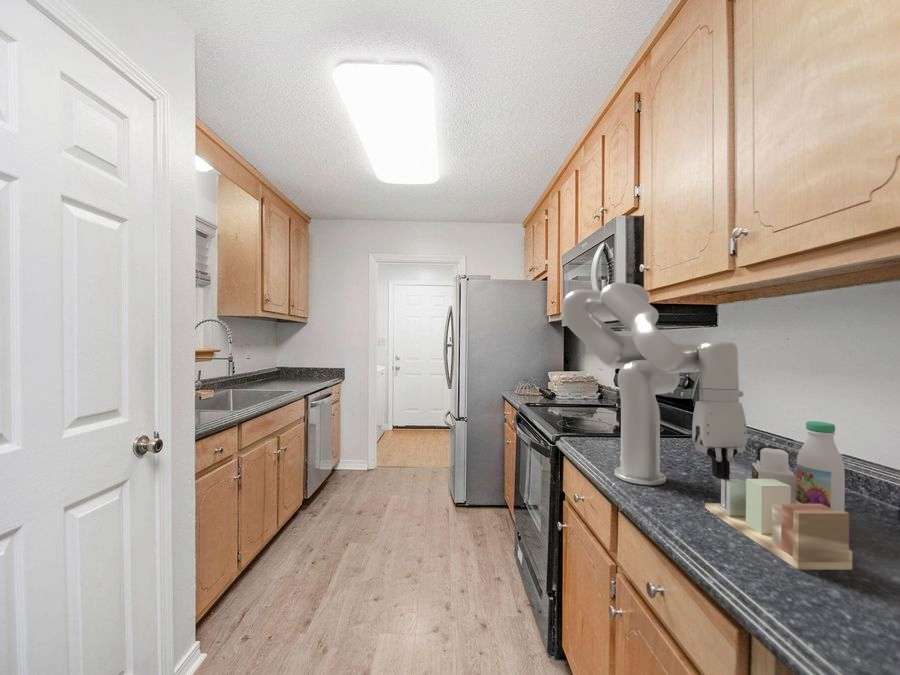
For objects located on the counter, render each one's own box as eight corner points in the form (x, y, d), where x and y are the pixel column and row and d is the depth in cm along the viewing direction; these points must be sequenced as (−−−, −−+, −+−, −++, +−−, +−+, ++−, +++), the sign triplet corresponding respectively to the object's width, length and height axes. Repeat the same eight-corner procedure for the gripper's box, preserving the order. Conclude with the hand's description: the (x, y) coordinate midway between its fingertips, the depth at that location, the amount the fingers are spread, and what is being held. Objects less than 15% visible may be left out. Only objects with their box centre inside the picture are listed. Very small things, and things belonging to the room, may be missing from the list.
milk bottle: (820, 509, 92) (821, 419, 92) (855, 525, 84) (856, 426, 84) (786, 509, 92) (787, 419, 92) (818, 525, 84) (819, 426, 84)
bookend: (713, 506, 90) (713, 474, 90) (746, 506, 90) (746, 474, 90) (729, 516, 85) (730, 482, 85) (764, 516, 85) (764, 482, 85)
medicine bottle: (751, 490, 103) (751, 442, 103) (787, 496, 99) (788, 446, 99) (756, 500, 96) (757, 449, 96) (795, 506, 93) (796, 453, 93)
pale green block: (745, 524, 81) (746, 478, 81) (773, 524, 81) (773, 478, 81) (761, 534, 77) (762, 486, 77) (790, 534, 77) (791, 486, 77)
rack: (704, 508, 92) (705, 467, 92) (745, 508, 92) (745, 467, 92) (798, 569, 68) (798, 513, 68) (852, 569, 68) (852, 513, 68)
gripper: (739, 394, 98) (741, 472, 97) (676, 394, 97) (678, 473, 97) (764, 397, 90) (766, 482, 90) (696, 398, 90) (698, 483, 89)
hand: (721, 477), depth 93 cm, fingers closed
